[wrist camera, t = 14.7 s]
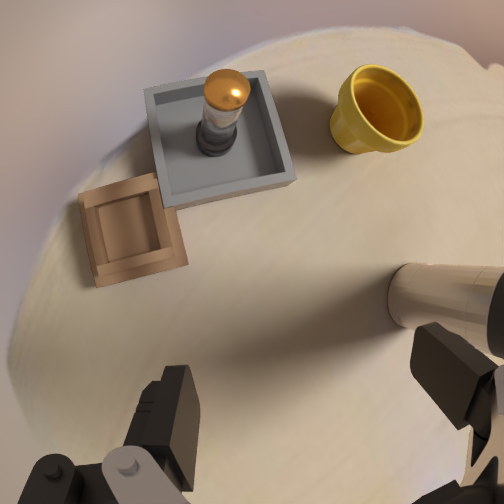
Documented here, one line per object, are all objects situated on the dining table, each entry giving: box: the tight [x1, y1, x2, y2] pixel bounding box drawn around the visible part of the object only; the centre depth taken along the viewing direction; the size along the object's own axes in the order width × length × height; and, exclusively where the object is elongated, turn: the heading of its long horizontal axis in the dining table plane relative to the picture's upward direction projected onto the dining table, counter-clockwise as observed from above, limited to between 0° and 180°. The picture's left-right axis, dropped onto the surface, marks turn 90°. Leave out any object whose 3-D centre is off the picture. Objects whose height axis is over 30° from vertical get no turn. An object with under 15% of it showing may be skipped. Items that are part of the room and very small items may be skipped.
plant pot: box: [330, 64, 424, 154], centre depth 32 cm, size 10×10×10 cm
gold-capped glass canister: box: [196, 69, 250, 157], centre depth 26 cm, size 4×4×12 cm
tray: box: [144, 70, 297, 210], centre depth 31 cm, size 14×14×4 cm
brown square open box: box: [78, 172, 189, 288], centre depth 29 cm, size 10×10×4 cm
